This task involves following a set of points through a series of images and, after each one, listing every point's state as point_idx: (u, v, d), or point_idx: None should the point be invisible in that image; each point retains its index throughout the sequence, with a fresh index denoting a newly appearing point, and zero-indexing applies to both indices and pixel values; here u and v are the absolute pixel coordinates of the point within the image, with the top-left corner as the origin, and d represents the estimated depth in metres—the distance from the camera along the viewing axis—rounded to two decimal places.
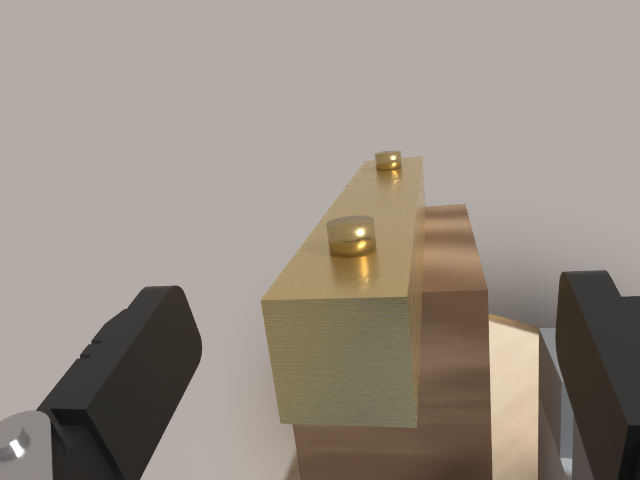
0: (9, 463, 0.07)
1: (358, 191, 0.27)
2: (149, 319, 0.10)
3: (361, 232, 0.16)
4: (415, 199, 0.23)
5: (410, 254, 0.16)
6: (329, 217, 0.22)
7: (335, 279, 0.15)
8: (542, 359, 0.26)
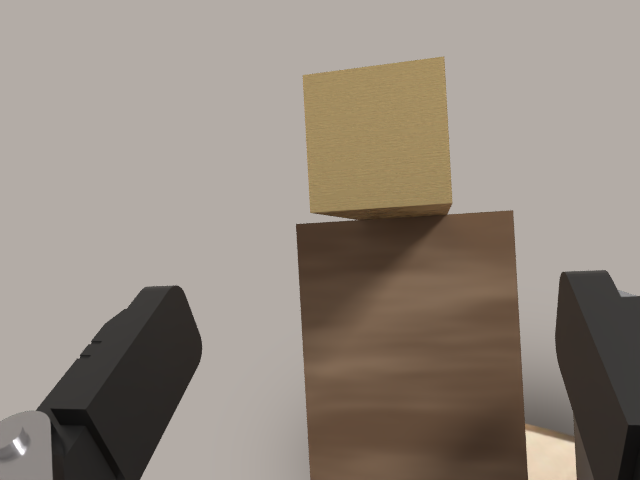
0: (9, 463, 0.07)
1: None
2: (149, 319, 0.10)
3: None
4: None
5: None
6: None
7: None
8: None
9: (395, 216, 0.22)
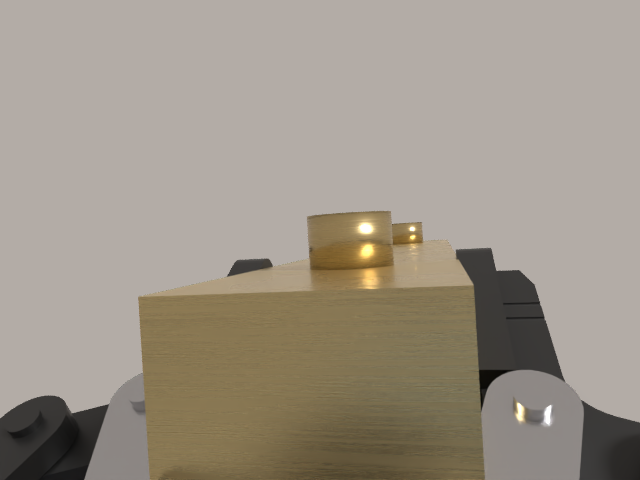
0: None
1: None
2: None
3: (368, 222, 0.09)
4: None
5: (459, 264, 0.09)
6: None
7: (311, 279, 0.07)
8: None
9: None
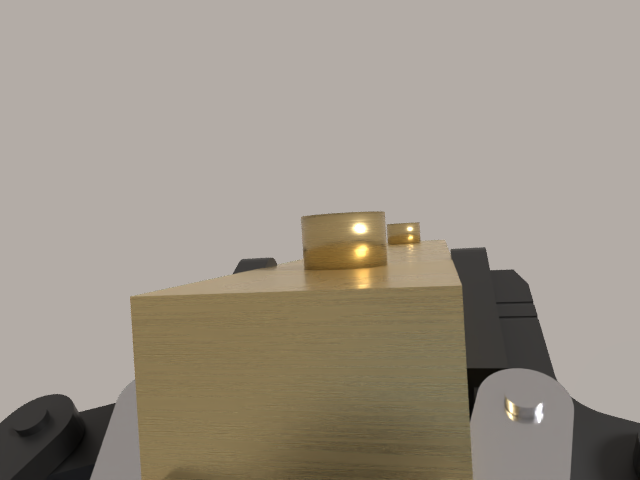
0: None
1: None
2: None
3: (361, 223, 0.09)
4: (444, 248, 0.16)
5: (451, 264, 0.09)
6: None
7: (303, 280, 0.07)
8: None
9: None
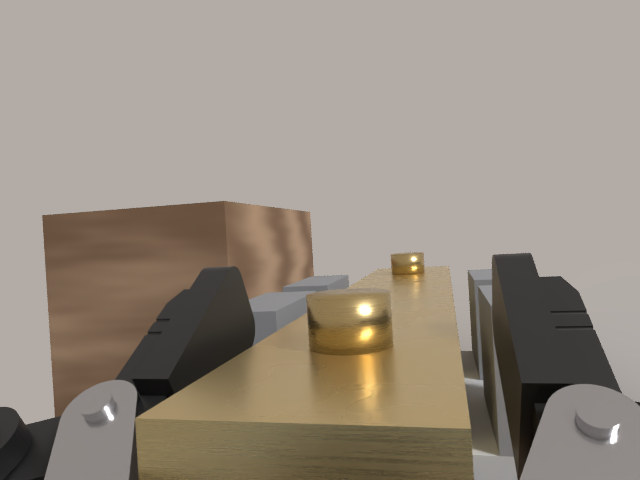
0: (103, 427, 0.08)
1: None
2: (214, 297, 0.10)
3: (367, 308, 0.09)
4: (449, 295, 0.16)
5: (458, 353, 0.09)
6: None
7: (309, 385, 0.07)
8: None
9: None
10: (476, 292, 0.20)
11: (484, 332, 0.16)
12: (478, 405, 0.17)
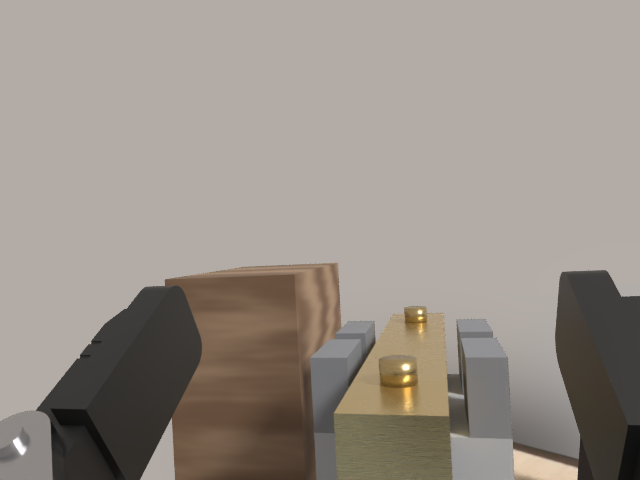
0: (9, 463, 0.07)
1: (393, 338, 0.31)
2: (149, 319, 0.10)
3: (407, 367, 0.21)
4: (443, 347, 0.28)
5: (446, 388, 0.21)
6: (373, 357, 0.27)
7: (389, 401, 0.19)
8: None
9: None
10: (460, 339, 0.32)
11: None
12: (460, 411, 0.29)
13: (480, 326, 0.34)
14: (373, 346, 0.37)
